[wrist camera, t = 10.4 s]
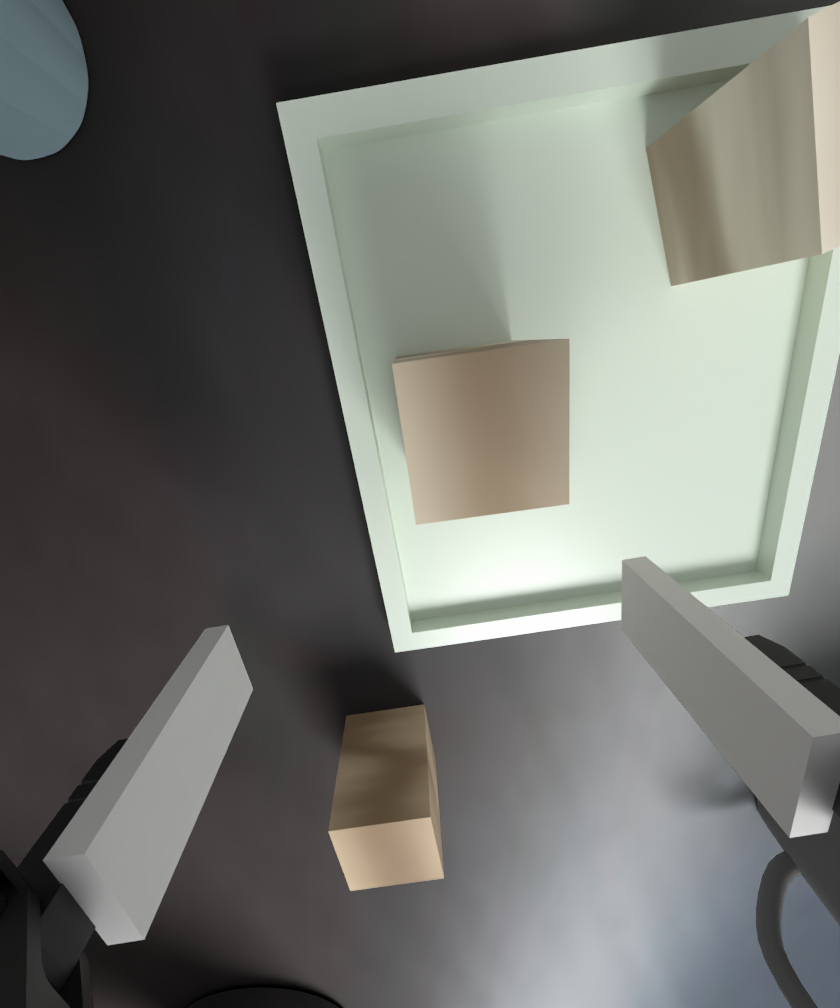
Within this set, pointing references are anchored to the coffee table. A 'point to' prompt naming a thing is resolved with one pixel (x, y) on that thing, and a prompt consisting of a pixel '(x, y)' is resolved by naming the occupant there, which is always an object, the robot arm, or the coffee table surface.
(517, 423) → the beech block
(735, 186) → the maple block
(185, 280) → the coffee table surface
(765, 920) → the mug
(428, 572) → the tray
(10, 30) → the cup
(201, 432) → the coffee table surface
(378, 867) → the oak block
